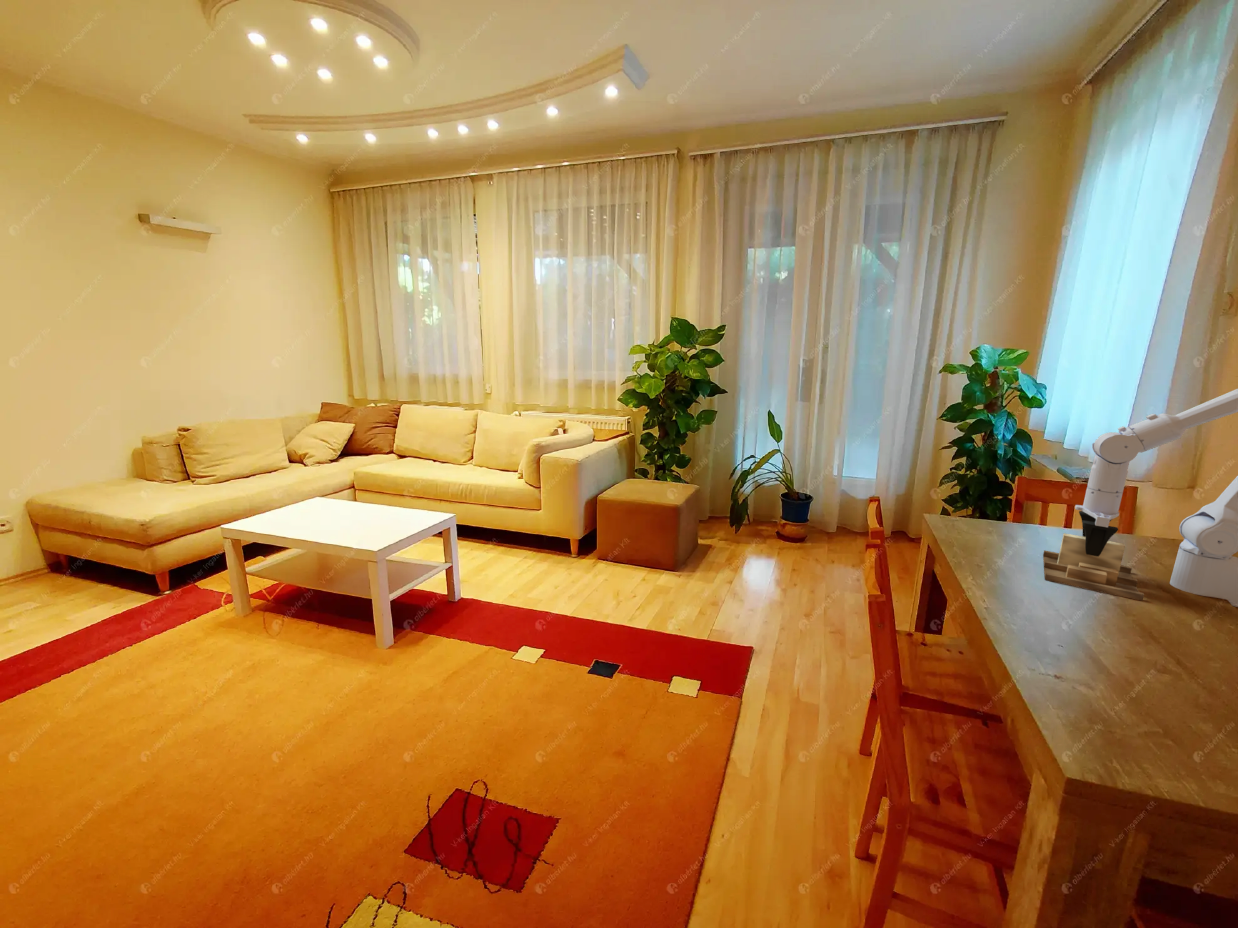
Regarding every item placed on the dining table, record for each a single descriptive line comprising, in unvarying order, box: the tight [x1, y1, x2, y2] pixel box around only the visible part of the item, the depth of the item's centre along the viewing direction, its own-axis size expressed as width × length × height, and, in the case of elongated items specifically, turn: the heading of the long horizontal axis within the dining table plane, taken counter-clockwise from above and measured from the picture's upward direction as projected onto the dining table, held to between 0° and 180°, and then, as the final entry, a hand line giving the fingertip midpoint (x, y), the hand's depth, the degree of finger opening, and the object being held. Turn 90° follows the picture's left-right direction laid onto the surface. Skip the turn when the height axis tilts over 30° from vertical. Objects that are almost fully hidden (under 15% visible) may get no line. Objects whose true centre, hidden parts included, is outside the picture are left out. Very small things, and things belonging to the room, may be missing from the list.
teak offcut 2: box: [1078, 562, 1118, 586], centre depth 112 cm, size 6×2×3 cm, turn 53°
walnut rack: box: [1042, 550, 1145, 602], centre depth 115 cm, size 15×17×2 cm
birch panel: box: [1057, 532, 1126, 574], centre depth 117 cm, size 10×2×7 cm, turn 53°
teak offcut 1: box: [1066, 565, 1107, 585], centre depth 110 cm, size 6×2×3 cm, turn 53°
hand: (1090, 549), depth 117 cm, fingers open, 7 cm apart
